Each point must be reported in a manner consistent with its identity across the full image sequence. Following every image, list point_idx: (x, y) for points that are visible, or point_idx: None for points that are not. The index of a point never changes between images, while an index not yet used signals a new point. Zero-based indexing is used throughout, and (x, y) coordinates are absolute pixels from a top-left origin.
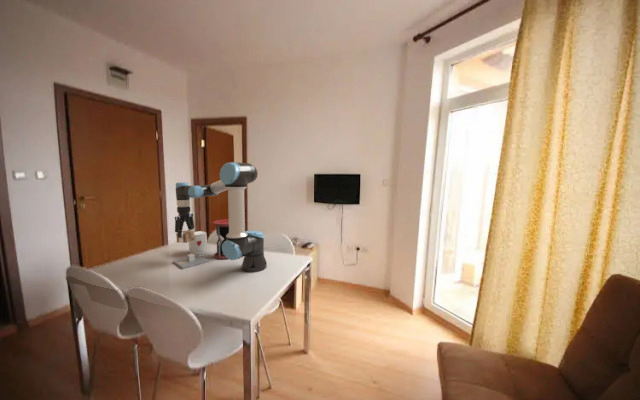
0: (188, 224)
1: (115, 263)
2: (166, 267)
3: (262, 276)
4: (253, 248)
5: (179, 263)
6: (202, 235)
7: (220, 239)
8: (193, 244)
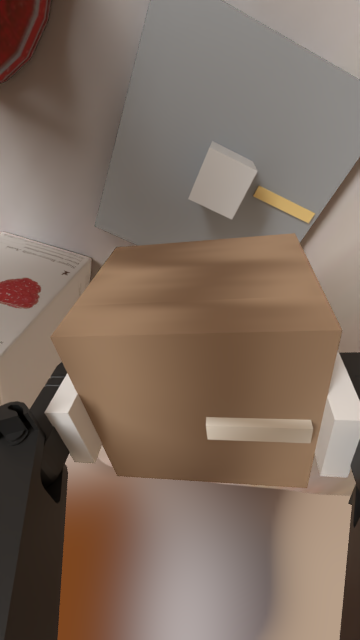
0: (34, 597)
1: (317, 485)
2: (354, 265)
3: None
4: None
5: (309, 211)
6: None
7: None
8: (57, 323)
